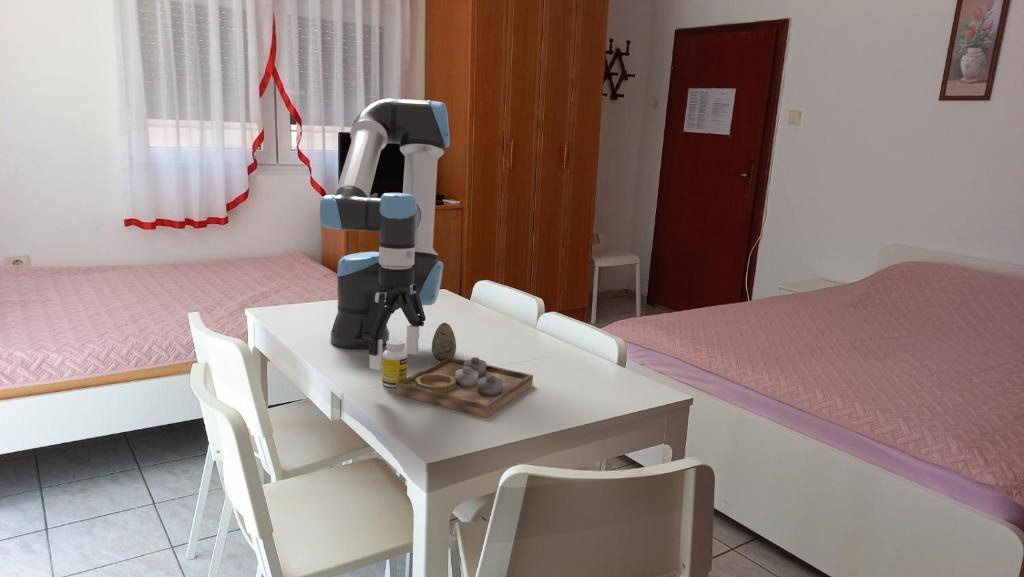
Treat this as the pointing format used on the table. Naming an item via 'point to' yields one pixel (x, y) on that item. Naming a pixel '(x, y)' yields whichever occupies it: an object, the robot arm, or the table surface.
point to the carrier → (465, 385)
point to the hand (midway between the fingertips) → (394, 361)
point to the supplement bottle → (394, 363)
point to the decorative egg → (443, 342)
